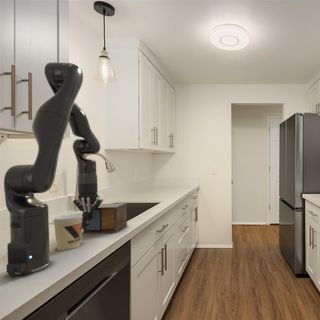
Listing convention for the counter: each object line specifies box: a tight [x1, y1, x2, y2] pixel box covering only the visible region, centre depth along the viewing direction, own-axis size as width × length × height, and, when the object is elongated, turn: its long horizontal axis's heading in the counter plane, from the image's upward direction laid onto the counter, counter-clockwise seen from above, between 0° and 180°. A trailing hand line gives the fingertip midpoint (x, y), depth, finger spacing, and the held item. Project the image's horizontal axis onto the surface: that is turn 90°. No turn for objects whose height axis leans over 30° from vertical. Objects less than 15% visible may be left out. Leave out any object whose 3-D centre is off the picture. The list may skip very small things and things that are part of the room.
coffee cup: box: [53, 213, 83, 251], centre depth 94 cm, size 9×9×12 cm
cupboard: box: [82, 202, 128, 234], centre depth 116 cm, size 10×16×12 cm, turn 89°
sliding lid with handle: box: [82, 210, 101, 230], centre depth 110 cm, size 5×7×9 cm
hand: (88, 219), depth 108 cm, fingers closed
